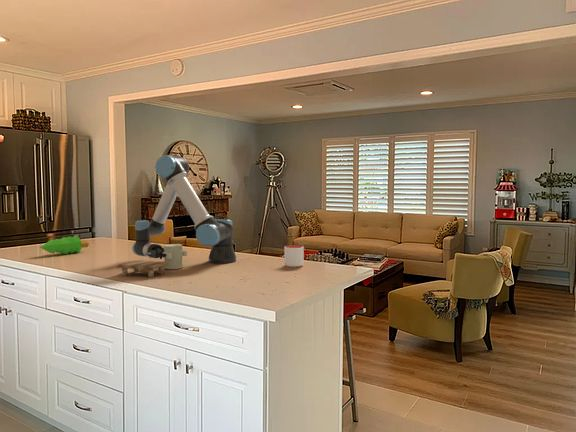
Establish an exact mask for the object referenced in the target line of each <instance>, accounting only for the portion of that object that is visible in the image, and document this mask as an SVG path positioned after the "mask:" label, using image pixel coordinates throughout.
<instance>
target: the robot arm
mask: <svg viewBox="0 0 576 432" xmlns="http://www.w3.org/2000/svg"><path fill="white" fill-rule="evenodd" d="M154 166H155V167H154V169H155V173H156V174H157V175H158V176H159V177H161V178H163V179H164V181H165V182H166V185H165V187H164V190H163V193H162V195H161V197H160V200H159V202H158V205H157V206H156V208H155V211H154V214H153V216H152V218H151V221H149V220H148V219H147V220H146V219H145V220H144V219H143V220H136V221H135V222H134V225H135V226H134V231H135V233H134V234H135V235H134V236H135V242H134V243H133V244H132V248H131V249H132V250H131V251H132V253H134V255H136V256H140V257H147V258H149V259H160V260H162V259H163V258H164V259H165V258H169V259H172V255H171V253H167V252H164V247H163V246H162V245H161V244H158V243H151V237H153V236H159V235H161V234H164V232H165V231H166V225H165V224H166V222H167V219H168V217H169V214H170V212H171V209H172V208H173V206H174V203H175V202H176V198H177V197H178V198H179V200H180V201H181V202H182V203H181V204H183V206H184V207H185V209H186V211H187V213H188V215H189V216H190V218H191V220H192V221H193V223H194V226H193V227H194V230H195V238H196V240H197V242H198V243H199V244H200V245H202V246H204V247H211V248H210V252H209V255H208V262H209V263H213V264H229V263H230V264H231V263H234V262H236V261H237V255H236V252H235V250H234V242H233V241H234V239H233V238H234V236H233V234H234V229H233V228H234V226H233V220H231V219H222V218H221V219H217V218H215V216H213V215H210V214H209V212H208V211H207V209H206V208H205V206H204V205H203V203H202V201H201V199H200V198H199V196H198V195H197V192H196V191H195V189H194V188H193V186H192V185H191V183H190V181H189V180H188V175H189V171H190V164H189V162H188V160H187V159H186V158H185V157H183V156H180V155H171V154H165V155H161V156H159V157H158V159H157V160H156V162H155V165H154ZM182 257H188V250H184V249H183V248H182Z"/></svg>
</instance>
